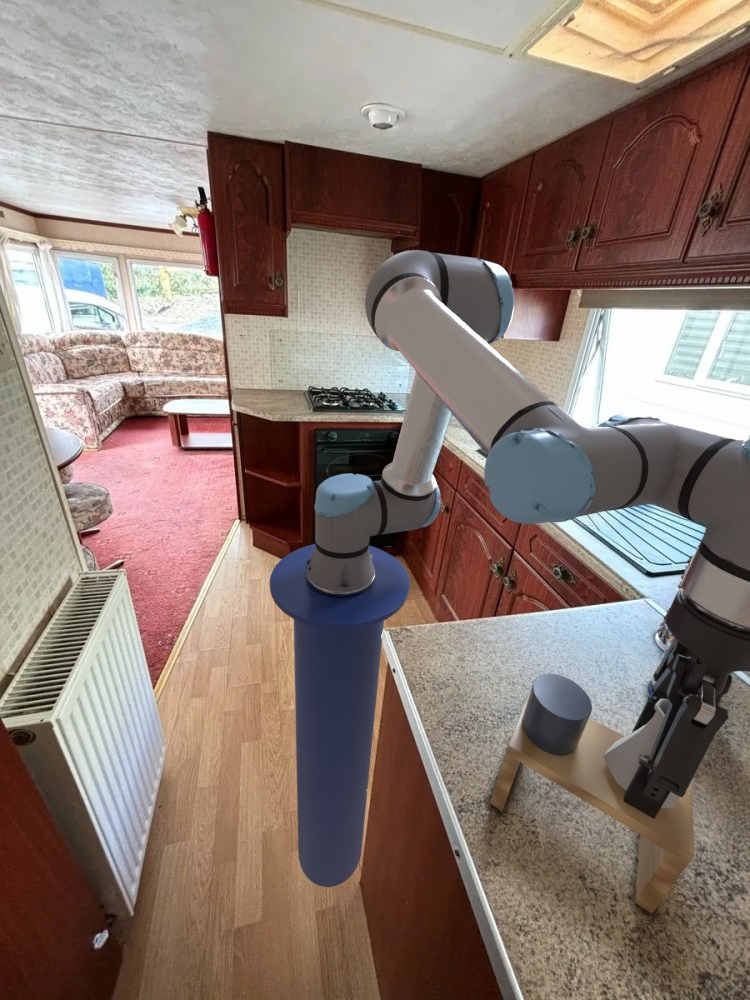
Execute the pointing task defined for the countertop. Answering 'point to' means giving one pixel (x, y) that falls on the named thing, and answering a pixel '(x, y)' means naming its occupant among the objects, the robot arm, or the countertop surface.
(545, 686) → the spice tin
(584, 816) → the countertop surface
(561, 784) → the spice shelf
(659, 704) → the flask
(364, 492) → the robot arm
